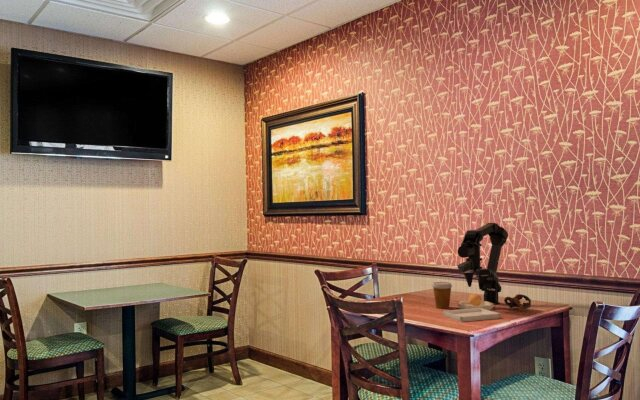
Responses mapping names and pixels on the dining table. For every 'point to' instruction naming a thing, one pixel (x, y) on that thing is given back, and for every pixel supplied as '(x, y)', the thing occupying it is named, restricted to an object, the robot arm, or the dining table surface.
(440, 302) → the disposable coffee cup
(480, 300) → the ball
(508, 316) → the dining table surface
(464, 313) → the tray
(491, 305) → the bowl
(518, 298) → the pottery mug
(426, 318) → the dining table surface
